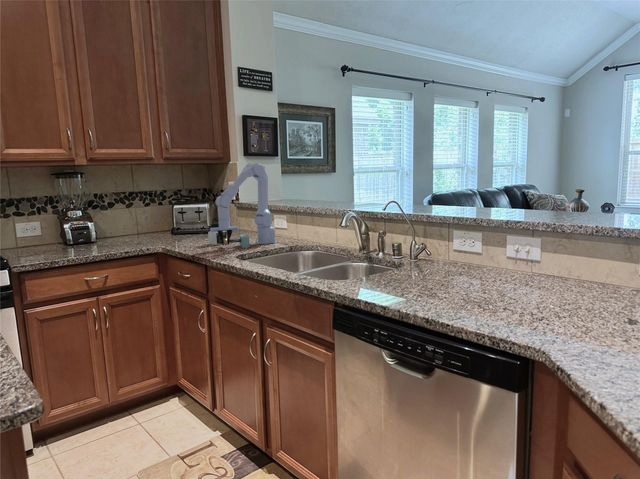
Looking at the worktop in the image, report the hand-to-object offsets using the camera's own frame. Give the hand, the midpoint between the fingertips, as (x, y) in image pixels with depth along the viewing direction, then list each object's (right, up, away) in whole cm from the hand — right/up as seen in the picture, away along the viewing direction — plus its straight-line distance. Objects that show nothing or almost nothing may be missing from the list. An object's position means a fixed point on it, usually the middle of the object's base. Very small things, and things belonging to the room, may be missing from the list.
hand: (225, 244), depth 243 cm
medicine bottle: (-8, 0, +16) cm, 17 cm away
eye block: (+9, -1, +6) cm, 11 cm away
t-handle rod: (+5, +1, +4) cm, 7 cm away
